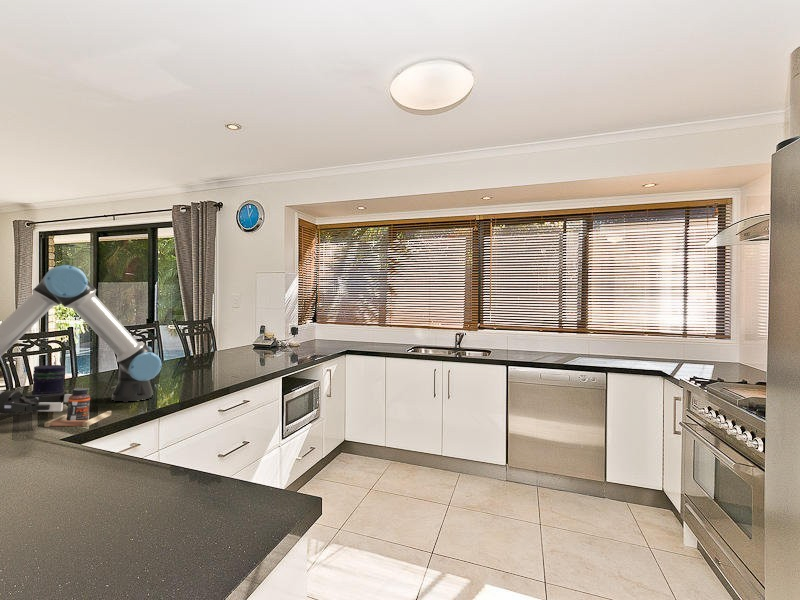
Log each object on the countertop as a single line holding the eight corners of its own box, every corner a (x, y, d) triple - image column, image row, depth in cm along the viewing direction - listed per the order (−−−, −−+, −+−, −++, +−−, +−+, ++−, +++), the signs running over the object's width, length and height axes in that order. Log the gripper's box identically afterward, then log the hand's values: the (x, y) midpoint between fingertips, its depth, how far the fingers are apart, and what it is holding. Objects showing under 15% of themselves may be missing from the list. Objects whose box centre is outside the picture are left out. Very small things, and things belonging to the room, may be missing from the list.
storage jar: (47, 407, 155) (51, 368, 156) (23, 405, 156) (26, 367, 156) (69, 401, 165) (72, 365, 166) (46, 400, 166) (49, 364, 166)
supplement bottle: (75, 424, 135) (78, 391, 136) (61, 422, 136) (64, 389, 137) (92, 420, 141) (95, 388, 142) (78, 418, 142) (81, 386, 143)
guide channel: (73, 414, 147) (73, 411, 147) (111, 414, 149) (111, 411, 149) (44, 426, 131) (44, 422, 131) (86, 426, 134) (87, 422, 134)
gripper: (27, 405, 146) (92, 405, 150) (-31, 423, 122) (49, 423, 126) (29, 384, 146) (94, 385, 151) (-29, 398, 122) (52, 399, 126)
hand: (74, 402), depth 138 cm, fingers open, 13 cm apart
